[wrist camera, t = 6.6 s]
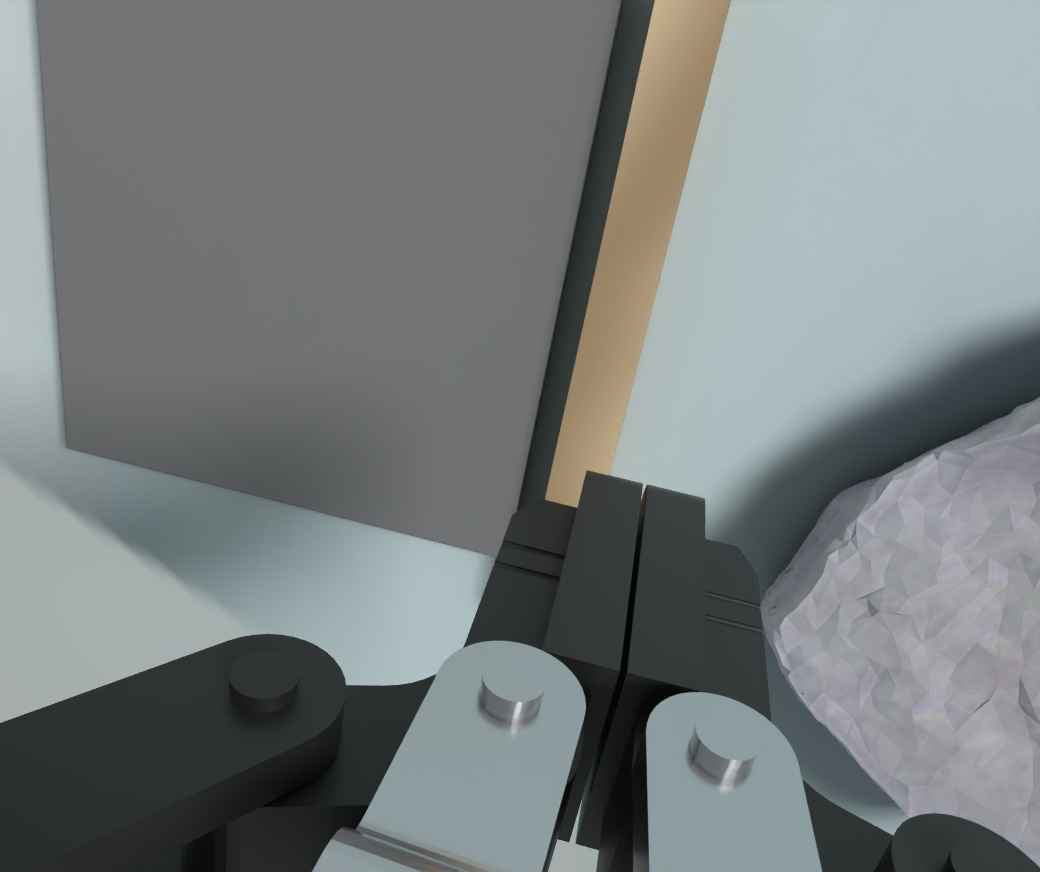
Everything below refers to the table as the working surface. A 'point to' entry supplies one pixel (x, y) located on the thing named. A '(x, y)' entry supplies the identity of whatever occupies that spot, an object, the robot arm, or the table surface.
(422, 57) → the mat
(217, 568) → the table surface
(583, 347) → the strip
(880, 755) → the stone block
